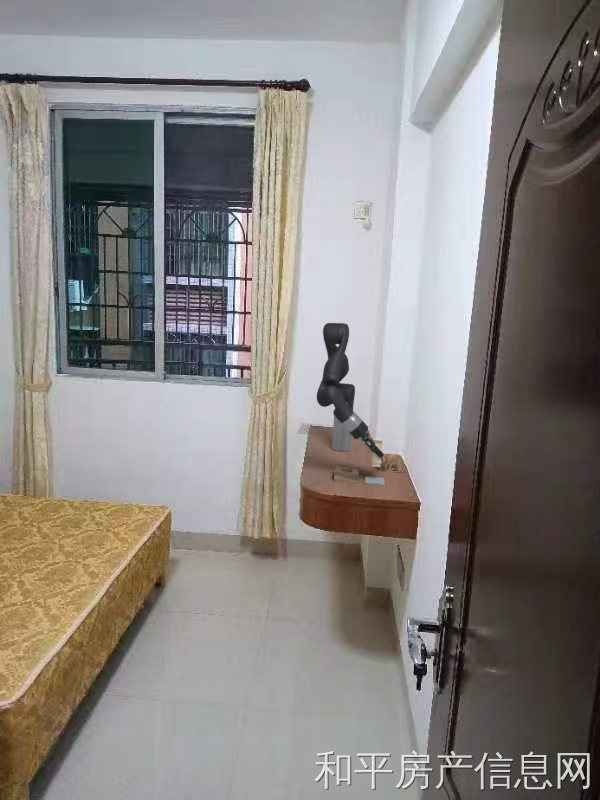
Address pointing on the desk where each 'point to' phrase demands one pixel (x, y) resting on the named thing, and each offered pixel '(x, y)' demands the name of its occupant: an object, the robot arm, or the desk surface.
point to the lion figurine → (388, 461)
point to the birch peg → (375, 459)
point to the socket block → (346, 474)
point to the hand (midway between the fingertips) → (381, 454)
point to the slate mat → (374, 480)
